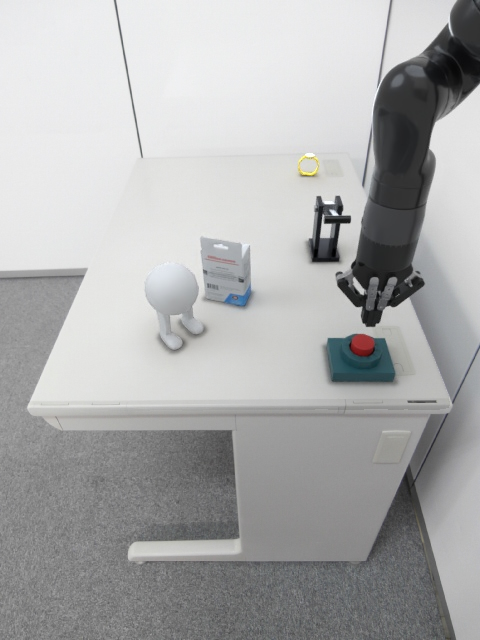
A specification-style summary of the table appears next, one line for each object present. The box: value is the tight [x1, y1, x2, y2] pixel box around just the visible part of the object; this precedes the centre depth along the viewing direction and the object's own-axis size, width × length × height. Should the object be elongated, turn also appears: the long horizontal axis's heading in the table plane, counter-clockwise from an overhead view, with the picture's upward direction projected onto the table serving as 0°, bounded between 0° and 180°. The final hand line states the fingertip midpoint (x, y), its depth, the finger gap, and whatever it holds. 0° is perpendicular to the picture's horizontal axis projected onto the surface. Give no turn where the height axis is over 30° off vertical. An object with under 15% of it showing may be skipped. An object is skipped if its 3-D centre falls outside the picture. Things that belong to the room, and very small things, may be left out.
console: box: [325, 333, 396, 383], centre depth 74 cm, size 10×8×4 cm
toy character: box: [144, 261, 205, 351], centre depth 77 cm, size 9×9×15 cm
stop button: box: [351, 333, 374, 357], centre depth 73 cm, size 4×4×2 cm
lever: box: [322, 200, 352, 225], centre depth 89 cm, size 12×5×2 cm, turn 179°
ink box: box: [199, 235, 252, 307], centre depth 85 cm, size 8×5×15 cm, turn 71°
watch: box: [297, 152, 320, 177], centre depth 128 cm, size 6×3×6 cm, turn 81°
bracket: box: [307, 195, 344, 263], centre depth 96 cm, size 8×6×13 cm
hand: (369, 323), depth 70 cm, fingers closed
